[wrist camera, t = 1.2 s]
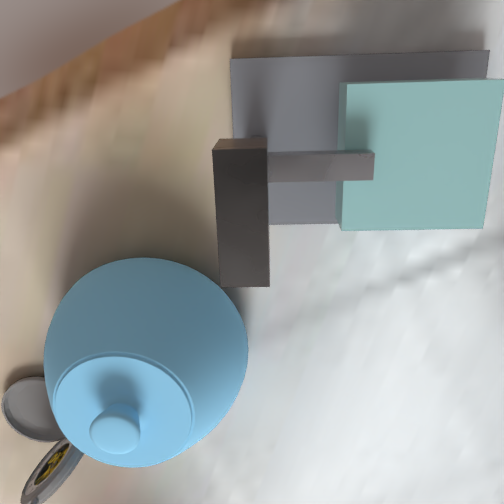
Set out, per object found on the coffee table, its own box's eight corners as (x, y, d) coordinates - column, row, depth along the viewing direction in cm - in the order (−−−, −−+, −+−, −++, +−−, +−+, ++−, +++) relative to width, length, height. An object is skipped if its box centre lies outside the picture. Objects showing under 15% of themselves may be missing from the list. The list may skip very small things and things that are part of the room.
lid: (481, 77, 27) (505, 79, 24) (463, 213, 30) (482, 228, 27) (339, 82, 27) (347, 84, 25) (335, 215, 30) (341, 231, 28)
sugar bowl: (249, 410, 41) (242, 532, 30) (79, 406, 42) (12, 525, 31) (248, 248, 36) (239, 327, 25) (52, 246, 36) (-41, 322, 26)
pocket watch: (10, 364, 40) (-69, 454, 31) (107, 387, 41) (59, 483, 31) (3, 438, 43) (-70, 540, 34) (95, 458, 44) (47, 564, 34)
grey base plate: (483, 50, 30) (512, 48, 26) (460, 216, 34) (484, 235, 30) (231, 59, 31) (225, 58, 27) (238, 221, 35) (234, 239, 31)
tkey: (353, 105, 30) (434, 144, 15) (350, 182, 32) (419, 285, 17) (241, 108, 31) (212, 149, 16) (243, 184, 33) (220, 287, 17)
